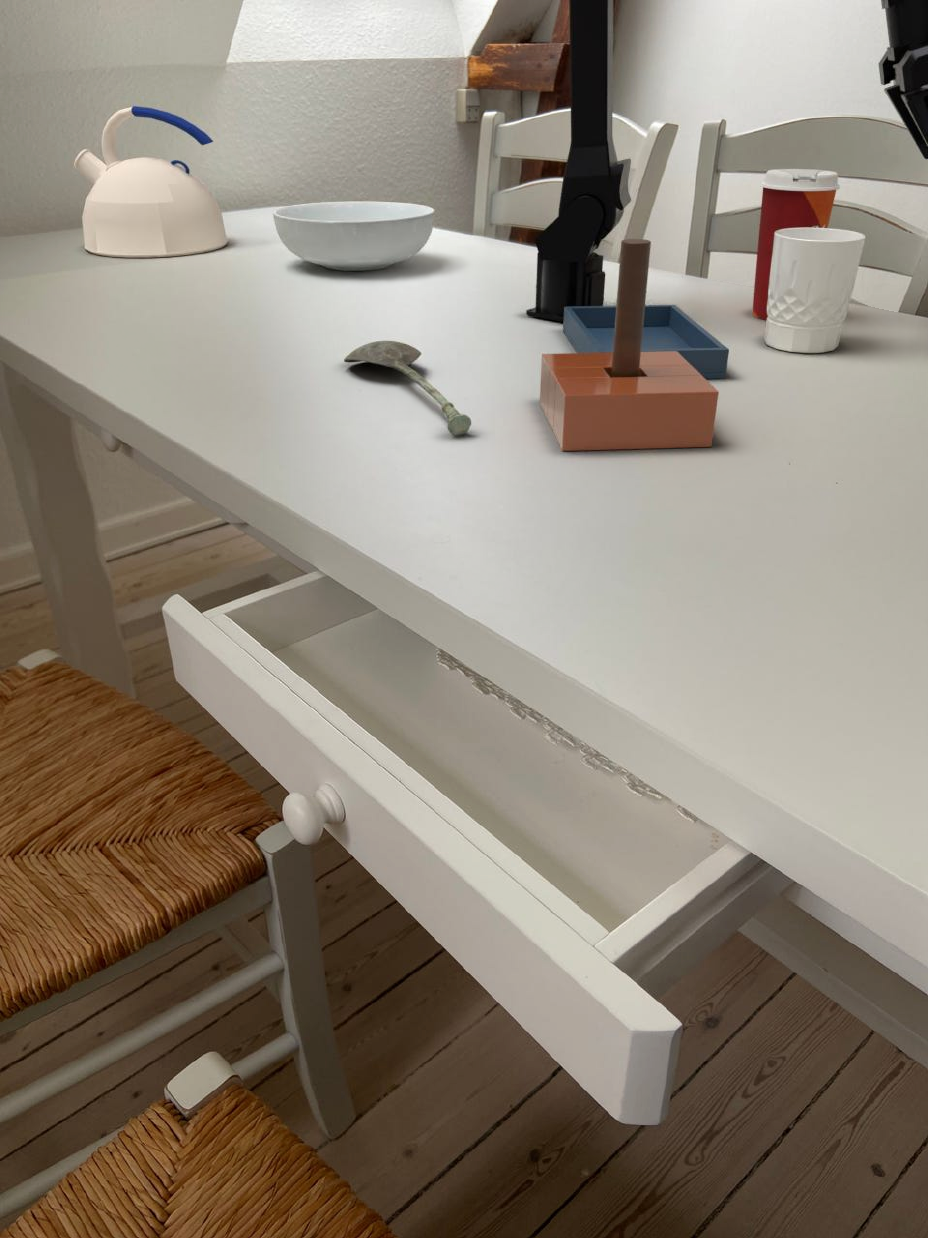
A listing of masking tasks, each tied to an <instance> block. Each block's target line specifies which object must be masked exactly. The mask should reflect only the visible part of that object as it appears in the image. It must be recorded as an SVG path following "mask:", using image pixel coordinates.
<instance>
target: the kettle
mask: <svg viewBox="0 0 928 1238" xmlns="http://www.w3.org/2000/svg"><path fill="white" fill-rule="evenodd" d="M135 117H136V118H146V119H147V118H148V119H153V120H156V121H160V122H163V123H166V124H169V125H170V126H173V127H176V128H177V129H179V130H181V131H182V132H185V133H186V134H188V135H189V136H190V137H191V138H193V139H195V140H196V141H197V142H198V143H199V145H201V146H205V145H209V144H212V143H213V142H214V140H213V138H211V137H210V136H209V135H208V134H207V133H206V132H205V131H203V130H202V129H201V128H200V127H198V126H197V125H196V124H194V123H191V122H190V121H188V120H186V119H185V118H183V117H181V116H178V115H175V114H173V113H171V112H168V111H164V110H160V109H157V108H153V107H147V106H137V105H133V106H130V107H127V108H123V109H119V110H117V111H116V112H115V113H114V114H113V115H112V116H111V117H110V118H108V119H107V122H106V124H105V126H104V128H103V130H102V135H101V142H100V143H101V151H102V157H103V159H104V161H105V163H104V162H103V161H102V160H101V159H99V158H98V157H97V156H96V155H95V154H94V153H92V152H91V149H88V148H85V149H82V150H80V152H79V153H78V154H77V156H76V157H75V159H74V161H73V166H74V169H75V170H77V171H79V173H80V174H82V176H84V178H86V179H87V180H88V181H89V182H91V184H92V185H93V186H92V187H91V189H90V191H89V193H88V194H87V196H86V198H85V203H84V208H83V212H82V215H81V216H82V217H81V218H82V219H81V220H82V229H83V230H82V231H83V242H84V247H83V248H84V249H85V250H86V251H88V253H90V254H93V255H96V256H104V257H111V258H127V259H146V258H147V259H148V258H151V259H152V258H169V257H171V258H172V257H180V256H181V257H183V256H189V255H198V254H204V253H207V252H213V251H216V250H219V249H221V248H224V247H225V246H226V245H227V244H228V242H229V239H228V238H227V234H226V228H225V224H224V219H223V213H222V210H221V208H220V206H219V204H218V202H217V200H216V198H215V196H214V195H213V193H212V191H211V190H210V189H209V188H208V187H207V186H206V184H205V183H203V181H202V180H201V179H200V178H199V177H198V176H197V175H195V174H194V173H192V172H191V171H190V168H189V166H188V165H187V164H186V163H185V162H183V161H182V160H178V159H174V160H171V161H170V160H167V159H165V158H161V157H151V156H150V157H149V156H148V157H147V156H142V157H135V158H127V159H125V160H123V159H120V158H119V156H118V154H117V150H116V144H115V143H116V133H117V131H118V130H119V127H120V125H121V124H122V123H124V122H125V121H126V120H127V119H130V118H135Z"/></svg>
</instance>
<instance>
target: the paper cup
mask: <svg viewBox="0 0 928 1238" xmlns="http://www.w3.org/2000/svg"><path fill="white" fill-rule="evenodd" d="M838 181H839V174H838V172H836V171H833V170H825V169H813V168H811V169H810V168H808V169H807V168H777V169H769V170H767V171H766V173H765V176H764V180H763V181H762V182H761V183H760V184H759V186H760V187H762V195H761V206H760V217H759V229H758V231H759V232H758V237H757V249H756V250H757V251H756V261H755V262H756V263H755V274H754V285H753V297H752V298H753V299H752V302H753V303H752V316H753V317H755V318H757V319H760V320H765V321H767V317H768V315H767V301H768V290H769V279H770V270H771V261H772V252H773V242H774V233H775V231H777V230H780V229H786V228H803V227H811V228H829V224H830V220H831V216H832V211H833V206H834V202H835V198H836V194H837V190H840V189H841V185H840V184H839V183H838Z"/></svg>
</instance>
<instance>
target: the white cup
mask: <svg viewBox="0 0 928 1238" xmlns="http://www.w3.org/2000/svg"><path fill="white" fill-rule="evenodd" d="M865 242H866V235H865V234H864V233H861V232H857V231H853V230H847V229H840V228H830V227H828V228H811V227H803V228H786V229H780V230H777V231H775V233H774V242H773V252H772V261H771V270H770V279H769V290H768V301H767V315H768V317H767V320H765V321H766V322H765V323H766V324H765V330H764V338H763V339H764V343H765V345H767V346H769V347H770V348H774V349H775V350H780V351H785V352H791V353H799V354H800V353H801V354H822V353H828V352H832V351H835V350H836V349H837V348H838V347H839V344H840V340H841V335H842V332H843V331H842V330H843V326H844V321H845V319H846V317H847V315H848V310H849V306H850V302H851V299H852V295H853V292H854V288H855V283H856V279H857V275H858V272H859V271H858V270H859V267H860V262H861V259H862V254H863V250H864V246H865Z"/></svg>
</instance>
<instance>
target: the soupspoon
mask: <svg viewBox="0 0 928 1238" xmlns="http://www.w3.org/2000/svg"><path fill="white" fill-rule="evenodd" d="M421 355H422V352H421V351H420V350H419V349H417V348H415V347H414V346H412V345H410V344H407V343H404V342H400V341H395V340H377V341H373V342H368V343H365V344H363V345H361V346H358V347H357V348H355V349H354V350H352V351H351V352H350V353H349V354H347V355H346V357H345V358H343V362H344V363H348V364H349V363H350V364H351V363H361V362H364V363H365V362H366V363H371V364H375V365H379V366H384V367H387V368H391V369H395V370H397V371H398V372H400V373H402V374H404V375H405V376H406V377H408V378H410V379H411V380H412V381H413V382H415V383H416V384H417V385H418V386H419V387H420V388H422V389H423V390H424V391H425V392H426V393H428V394H429V396H430V397H432V398H433V400H435V401H436V402H437V403H438V404H439V405H440V406H441V411H442V412H443V413H444V414H445V417H446V418H447V421H448V425H447V430H448V432H449V433H450V434H451V435H452V436H453V435H454V436H462V435H464V434H466V433H468V431H469V429H470V427H471V426H472V419H471V417H470V416H469V415H468V414H463V413H460V412H459V411H458V410H457V408H455V405H454V403H452V402H449V400H447V399H446V397H444V395H442V394H441V392H440V391H439V390H438V389H436V388H435V387H434V386H433V385H432V384H431V383H429V382H428V380H426V379H425V378H424V377H422V376H421V375H420V373H418V372H417V371H416V370H414V369H413V368H412V367H410V366H409V365H411V364H413V363H414V362H416V361H417V360H418V359H419V358H420V357H421Z"/></svg>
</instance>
